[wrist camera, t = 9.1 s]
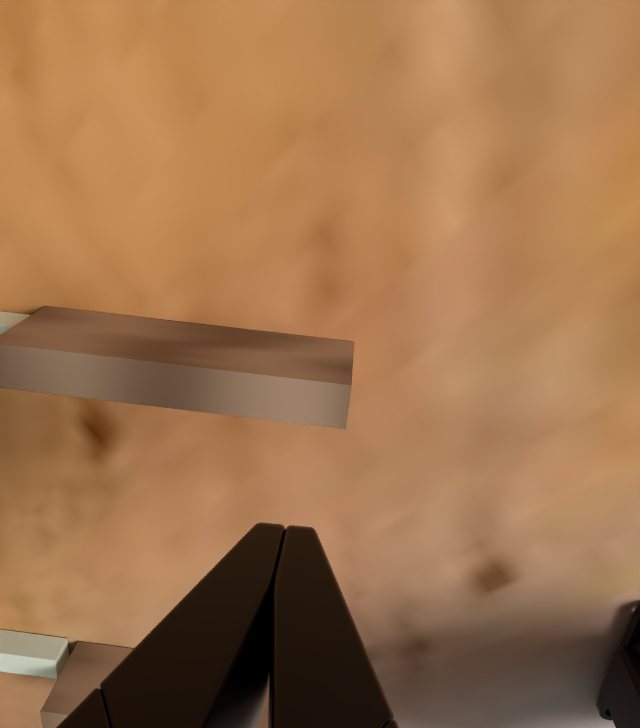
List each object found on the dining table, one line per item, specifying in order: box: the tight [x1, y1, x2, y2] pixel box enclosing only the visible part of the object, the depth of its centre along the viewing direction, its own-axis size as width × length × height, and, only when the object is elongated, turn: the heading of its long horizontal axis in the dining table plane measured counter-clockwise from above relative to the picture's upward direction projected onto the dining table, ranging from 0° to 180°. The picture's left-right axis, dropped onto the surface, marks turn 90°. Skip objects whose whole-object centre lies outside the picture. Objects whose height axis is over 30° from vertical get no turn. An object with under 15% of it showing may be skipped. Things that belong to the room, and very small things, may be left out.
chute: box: [0, 306, 354, 728], centre depth 23 cm, size 11×18×4 cm, turn 175°
